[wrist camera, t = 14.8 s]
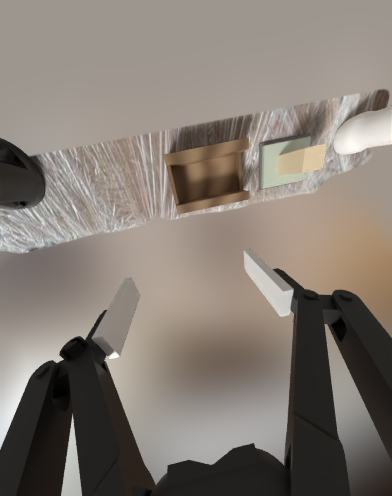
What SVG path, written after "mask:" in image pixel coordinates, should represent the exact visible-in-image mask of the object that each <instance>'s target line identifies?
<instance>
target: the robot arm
mask: <svg viewBox="0 0 392 496" xmlns="http://www.w3.org/2000/svg"><path fill="white" fill-rule="evenodd" d="M44 192H45V185H44V181H43V177H42V175H41V173H40V171H39V169H38V168H37V166H36V165H35V163H34V162H33V161H32V160H31V159H30V157H29V156H28V155H27V154H25V153H24V152H23V151H22V150H21V149H19V148H18V147H16V146H15V145H13V144H12V143H10V142H8V141H6V140H4V139H1V138H0V208H2V209H11V210H18V209H25V208H31V207H34V206H36V205H37V204H39V203H40V202H41V200H42V199H43V196H44ZM244 264H245V270H246V272H247V273H248V275H249V276H250V277H251V279H252V280H253V281H254V282H255V284H256V285H257V286H258V288H259V289H260V290H261V292H262V293H263V294H264V296H265V297H266V298H267V300H268V301H269V302H270V304H271V305H272V306H273V308H274V309H275V310H276V311H277V313H278V314H279V315H280V317H283V316H287V315H290V310H291V311H292V312H293V313H294V319H293V323H294V324H293V341H292V357H291V374H290V390H289V406H288V423H287V434H286V443H285V458H284V465H283V464H282V463H281V462H280V461H279V460H278V459H276V458H275V457H274V456H273V455H271V454H269V453H268V452H266V451H263V450H260V449H257V448H255V445H254V443H252V444H249V445H245V446H241V447H237V448H233V449H232V450H231V451H229V452H228V453H227V454H226V455H224V456H223V457H222V458H221V459H220V460H218V461H217V462H216V463H215V464H213V465H209V464H204V463H200V462H196V461H191V460H187V461H183V462H179V463H175V464H171V465H168V469H167V473H166V474H165V475H164V476H163V477H162V478H161V480H160V481H159V482H158V483H157V485H155V482H154V480H153V478H152V476H151V474H150V472H149V471H148V469H147V468H146V466H145V464H144V462H143V459H142V457H141V454H140V452H139V449H138V446H137V444H136V441H135V438H134V435H133V433H132V430H131V427H130V425H129V422H128V420H127V417H126V414H125V411H124V409H123V406H122V403H121V401H120V398H119V395H118V393H117V390H116V387H115V385H114V382H113V379H112V377H111V374H110V371H109V369H108V366H107V363H106V362H105V361H104V360H105V358H106V355H107V356H108V357H109V358H110V359H112V358H116V357H120V355H121V352H122V348H123V346H124V342H125V340H126V336H127V334H128V330H129V328H130V325H131V322H132V318H133V316H134V313H135V310H136V307H137V304H138V301H139V298H140V293H139V291H138V289H137V287H136V285H135V283H134V281H133V280H132V278H127V279H124V281H123V283H122V285H121V286H120V288H119V290H118V292H117V294H116V295H115V297H114V299H113V301H112V303H111V304H110V306H109V308H108V310H105V311H103V313H102V314H101V315H100V316H99V317H98V319H97V321H96V323H95V324H94V327H93V328H92V329H91V331H90V333H89V334H88V336H87V338H86V339H85V340H84V339H83V338H82V337H80V336H78V337H75V338H73V339H71V340H70V341H69V342H67V343H66V344H65V345H64V346H63V348H62V349H61V351H60V354H59V355H60V356H61V357H62V358H63V359H64V360H62V361H60V362H58V363H56V362H54V361H53V360H52V361H48V362H46V363H44V364H43V365H41V366H40V367H39V368H38V369H37V370H36V371H35V372H34V373H33V374H32V376H31V377H30V379H29V381H28V384H27V386H26V388H25V391H24V393H23V396H22V398H21V401H20V403H19V405H18V408H17V410H16V413H15V415H14V417H13V420H12V422H11V425H10V427H9V430H8V432H7V435H6V437H5V440H4V442H3V444H2V447H1V449H0V496H61V491H62V484H63V477H64V470H65V463H66V456H67V449H68V442H69V435H70V428H71V421H72V414H73V419H74V428H75V436H76V445H77V454H78V463H79V471H80V480H81V488H82V496H350V488H349V481H348V474H347V466H346V460H345V454H344V450H343V446H342V444H341V442H340V440H339V437H338V433H337V426H336V417H335V409H334V401H333V392H332V384H331V376H330V367H329V359H328V350H327V342H326V334H325V325H324V324H327V325H328V327H329V329H330V331H331V333H332V335H333V337H334V340H335V342H336V344H337V346H338V348H339V350H340V352H341V355H342V357H343V359H344V361H345V363H346V365H347V367H348V369H349V372H350V374H351V376H352V378H353V380H354V382H355V384H356V387H357V389H358V391H359V393H360V395H361V397H362V399H363V402H364V404H365V406H366V408H367V410H368V412H369V414H370V416H371V419H372V421H373V423H374V425H375V427H376V429H377V431H378V434H379V436H380V438H381V440H382V442H383V444H384V446H385V448H386V451H387V453H388V455H389V457H390V459H391V461H392V338H391V337H390V335H389V334H388V333H387V332H386V330H385V329H384V328H383V327H382V325H381V324H380V323H379V322H378V321H377V319H376V318H375V317H374V316H373V314H372V313H371V312H370V311H369V309H368V308H367V307H366V306H365V304H364V303H363V302H362V301H361V299H360V298H359V297H358V296H357V295H355V294H353V293H351V292H349V291H346V290H335V291H334V292H333V293H332V295H318V294H317V293H316V292H314V291H311V290H306V289H304V288H303V287H302V286H300V285H299V284H298V283H297V282H296V281H295V280H293V279H292V278H291V277H290V276H288V275H287V274H286V273H285V272H284V271H282V270H280V269H278V268H277V269H271V268H270V267H269V266H268V265H267V264H266V263H265V262H264V261H263V260H262V259H261V258H259V257H258V256H257V255H256V254H255V253H254V252H253V251H252V250H251V249H247V250H244Z"/></svg>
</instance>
